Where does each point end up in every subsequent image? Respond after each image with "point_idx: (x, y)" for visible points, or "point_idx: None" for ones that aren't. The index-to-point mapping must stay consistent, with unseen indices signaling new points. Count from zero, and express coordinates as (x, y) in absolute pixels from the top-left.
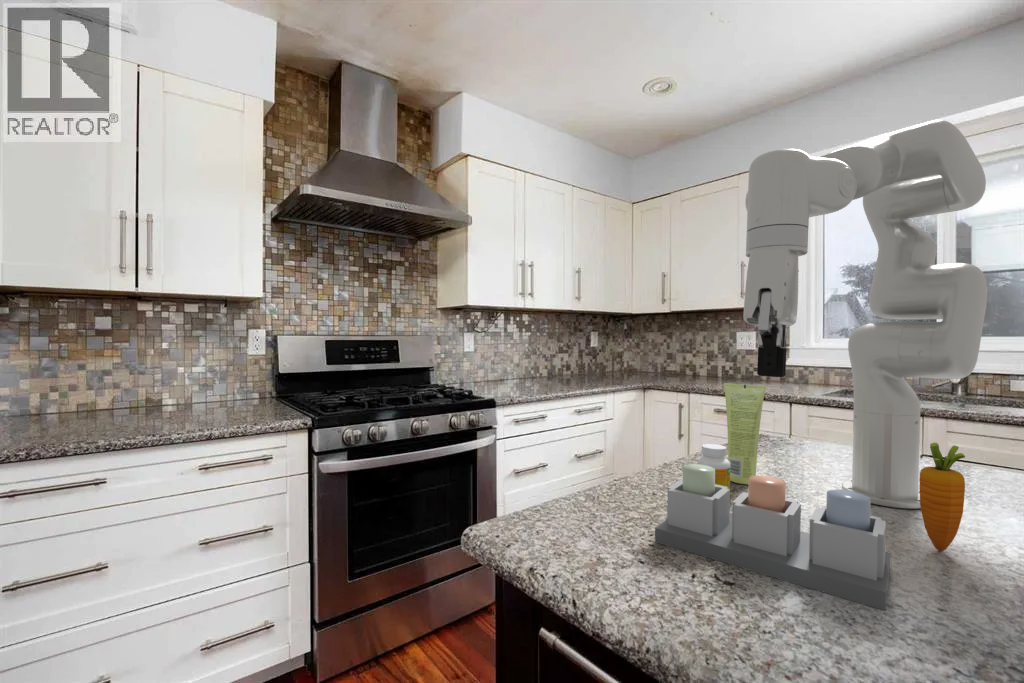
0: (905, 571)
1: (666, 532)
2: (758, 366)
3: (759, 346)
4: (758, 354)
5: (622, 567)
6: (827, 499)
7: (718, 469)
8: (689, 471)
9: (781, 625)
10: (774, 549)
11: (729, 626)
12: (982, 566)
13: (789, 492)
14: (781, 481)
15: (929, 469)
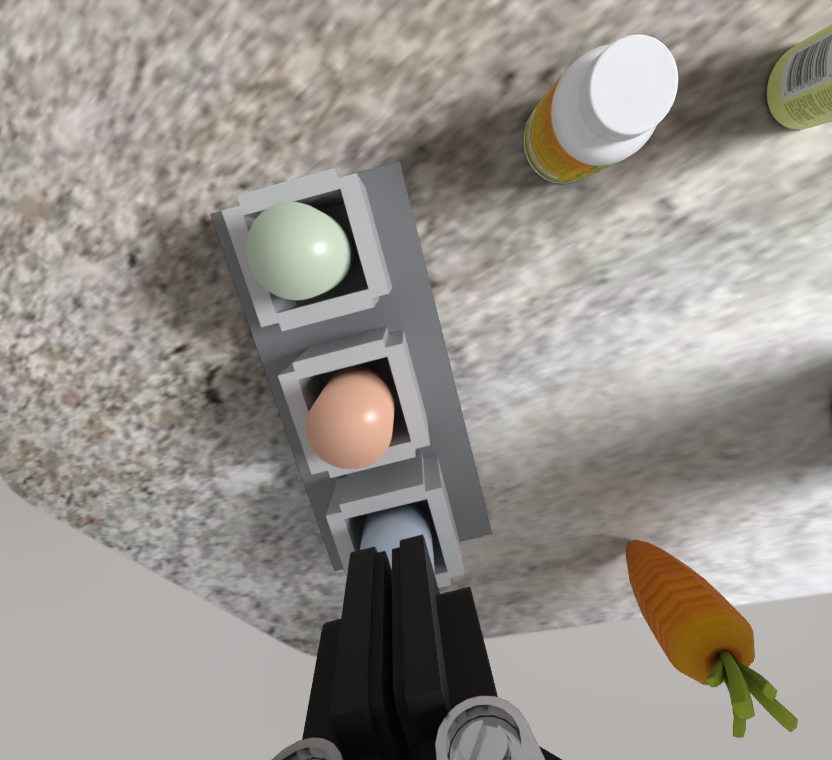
0: (496, 534)
1: (221, 241)
2: (349, 589)
3: (284, 754)
4: (338, 659)
5: (83, 253)
6: (371, 542)
7: (565, 151)
8: (246, 251)
9: (178, 495)
10: None
11: (112, 458)
12: (613, 591)
13: (792, 232)
14: (374, 453)
15: (703, 644)
